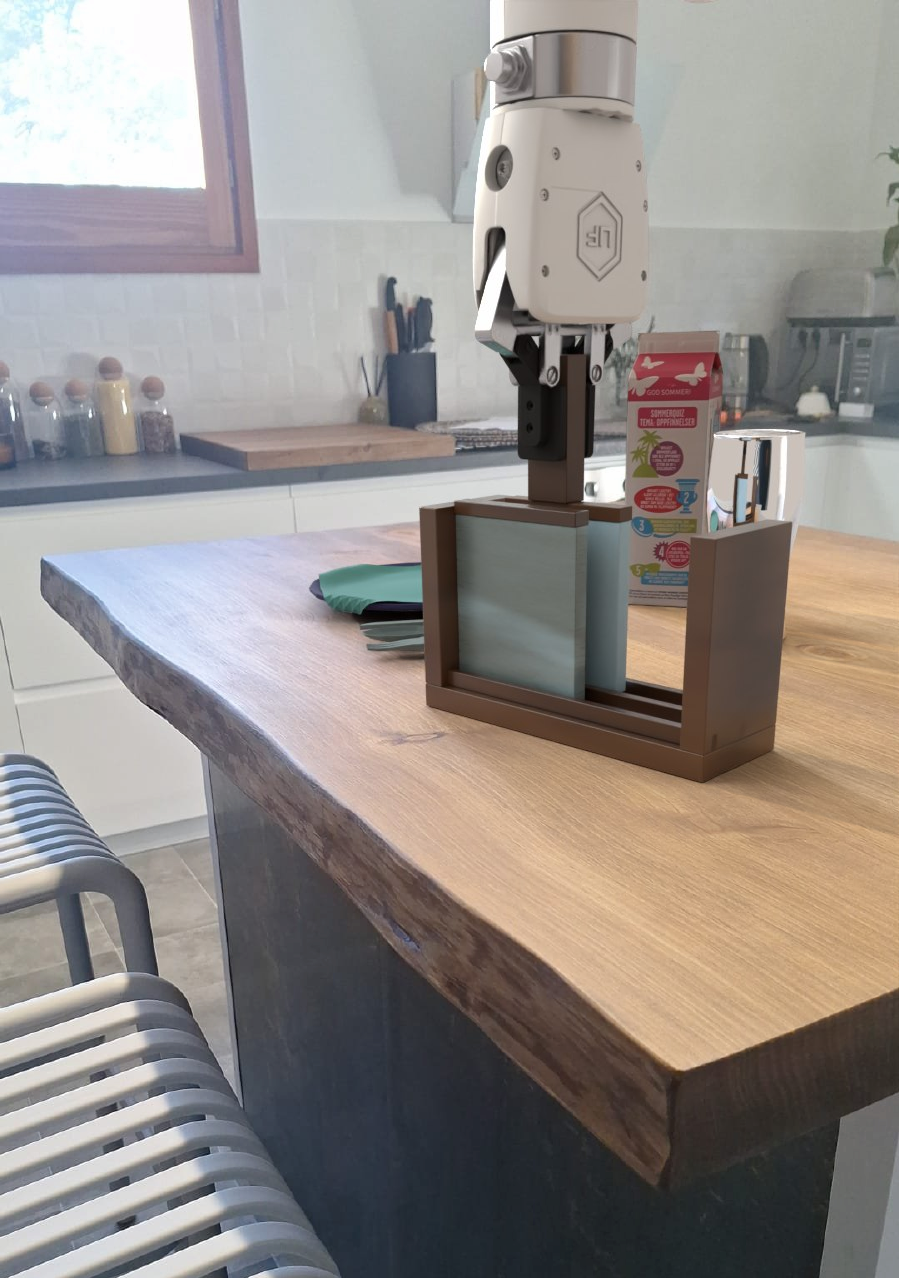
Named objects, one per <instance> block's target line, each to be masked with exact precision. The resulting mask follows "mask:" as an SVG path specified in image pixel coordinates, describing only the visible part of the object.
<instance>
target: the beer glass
mask: <svg viewBox="0 0 899 1278" xmlns="http://www.w3.org/2000/svg"><path fill="white" fill-rule="evenodd" d="M806 434H807V433H806V431H802V430H797V429H773V428H772V429H769V428H768V429H767V428H766V429H759V428H758V429H757V428H756V429H755V428H754V429H734V430H733V429H731V430H720V432H715V433H713V434H712V444H711V451H710V458H709V466H708V474H707V486H706V524H707V533H708V532H713V531H717V530H722V529H726V528H731V527H735V526H740V525H744V524H749V523H753V522H758V521H762V520H767V519H769V520H780V521H791V522H792V533H791V546H790V558H789V562H790V561H791V558H792V554H793V550H794V546H795V542H796V537H797V533H798V529H799V525H800V520H801V515H802V511H803V504H804V503H803V502H804V493H805V477H806ZM786 631H787V630H786V620H785V619H784V631H783V640H784V639H785V638H786V634H787V632H786Z"/></svg>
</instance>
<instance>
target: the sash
mask: <svg viewBox="0 0 899 1278" xmlns="http://www.w3.org/2000/svg"><path fill="white" fill-rule="evenodd" d="M556 386H567V390H566V392H567V418H566V455H565V457H564V459H563V460H562V461H556V462H551V461H538V460H527V495H510V496H511V497H505V502H507V503H518V504H528V505H538V506H548V507H559V508H569V509H579V510H588V511H589V524H588V525H587V585H586V644H585V684H588V685H593V686H597V687H601V688H606V689H610V690H614V691H619V692H624V691H625V690H626V678H627V657H628V656H627V655H628V654H627V653H628V620H629V604H628V592H629V559H630V526H631V522H630V520H632V506H628V505H625V504H618V503H617V504H616V503H606V502H605V503H604V502H596V501H595V502H594V501H584V500H585V458H584V452H585V387H586V354H568V355H560V378H559V381H558V383H557V385H556Z"/></svg>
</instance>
